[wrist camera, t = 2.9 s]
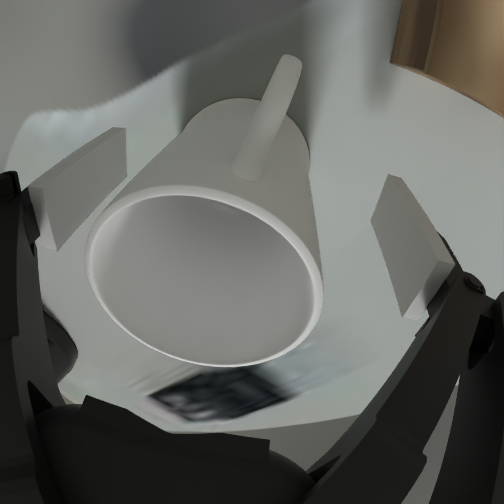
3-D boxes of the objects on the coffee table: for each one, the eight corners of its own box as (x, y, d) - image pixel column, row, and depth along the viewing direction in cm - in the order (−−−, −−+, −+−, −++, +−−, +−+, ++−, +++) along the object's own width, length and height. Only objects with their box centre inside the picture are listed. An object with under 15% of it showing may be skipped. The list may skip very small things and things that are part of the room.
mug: (234, 28, 14) (149, -3, 4) (363, 99, 16) (465, 182, 6) (160, 186, 21) (73, 315, 11) (268, 238, 23) (252, 390, 13)
